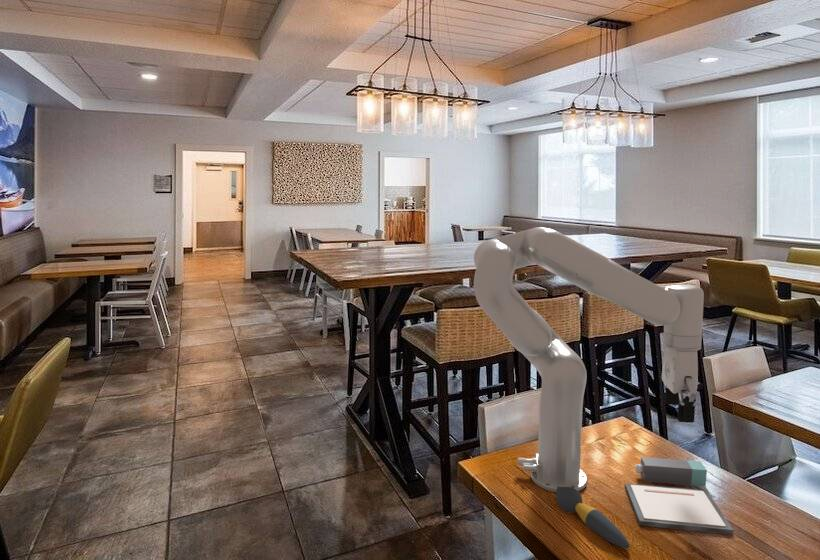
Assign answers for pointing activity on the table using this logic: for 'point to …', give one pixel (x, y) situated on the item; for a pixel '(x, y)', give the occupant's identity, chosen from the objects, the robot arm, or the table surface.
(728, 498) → the table surface
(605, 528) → the paintbrush
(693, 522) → the drawing board
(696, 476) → the teal-tipped grey bar
